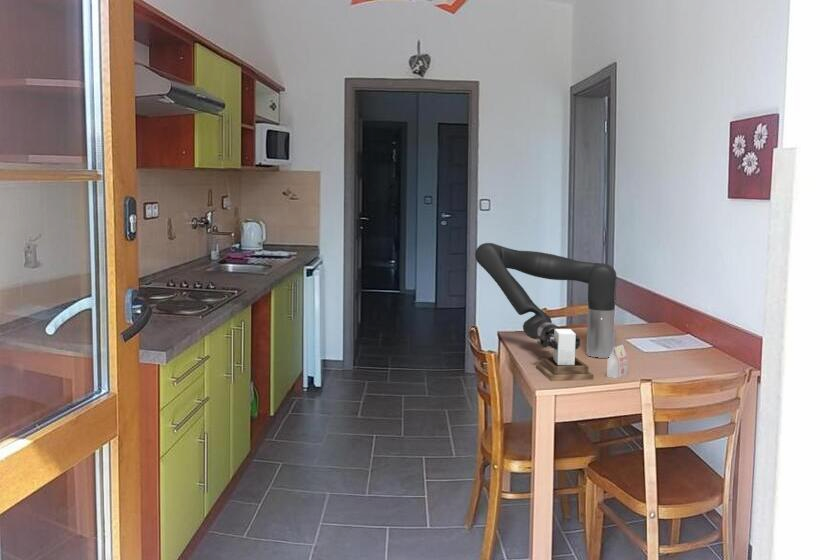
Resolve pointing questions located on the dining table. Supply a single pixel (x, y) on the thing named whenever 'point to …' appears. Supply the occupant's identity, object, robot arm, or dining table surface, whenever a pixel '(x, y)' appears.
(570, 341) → the small box
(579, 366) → the walnut cradle
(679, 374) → the dining table surface
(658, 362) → the dining table surface
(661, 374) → the dining table surface
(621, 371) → the milk carton
